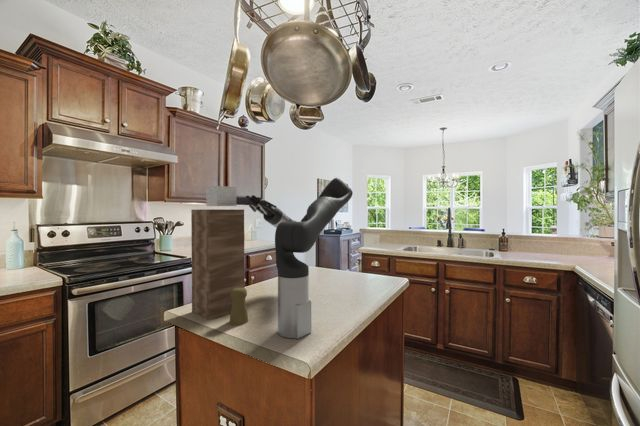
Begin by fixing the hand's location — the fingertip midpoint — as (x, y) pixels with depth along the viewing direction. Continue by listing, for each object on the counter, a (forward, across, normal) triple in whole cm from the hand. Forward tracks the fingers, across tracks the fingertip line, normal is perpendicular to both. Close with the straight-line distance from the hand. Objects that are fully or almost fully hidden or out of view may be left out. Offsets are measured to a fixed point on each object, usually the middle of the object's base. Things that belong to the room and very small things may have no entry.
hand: (249, 197), depth 119 cm
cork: (-7, +15, +44) cm, 47 cm away
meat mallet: (+3, 0, +6) cm, 6 cm away
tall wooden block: (-8, 0, +43) cm, 44 cm away
